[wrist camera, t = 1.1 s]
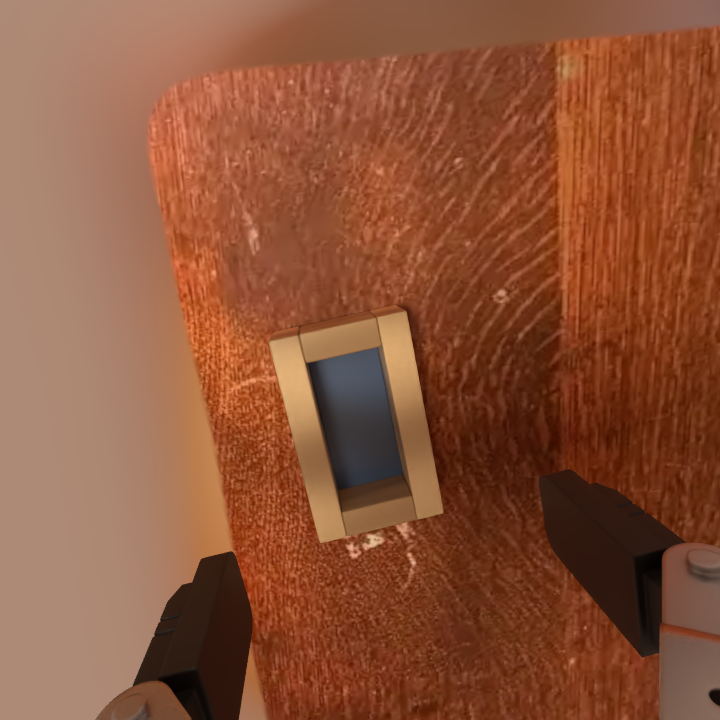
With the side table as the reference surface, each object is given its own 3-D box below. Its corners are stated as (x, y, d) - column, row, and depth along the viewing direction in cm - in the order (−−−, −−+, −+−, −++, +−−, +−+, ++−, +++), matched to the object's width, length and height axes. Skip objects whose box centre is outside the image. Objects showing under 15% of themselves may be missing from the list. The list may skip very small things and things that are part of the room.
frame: (272, 331, 21) (267, 341, 18) (395, 304, 21) (406, 310, 19) (318, 515, 23) (319, 544, 20) (430, 487, 23) (444, 513, 21)
